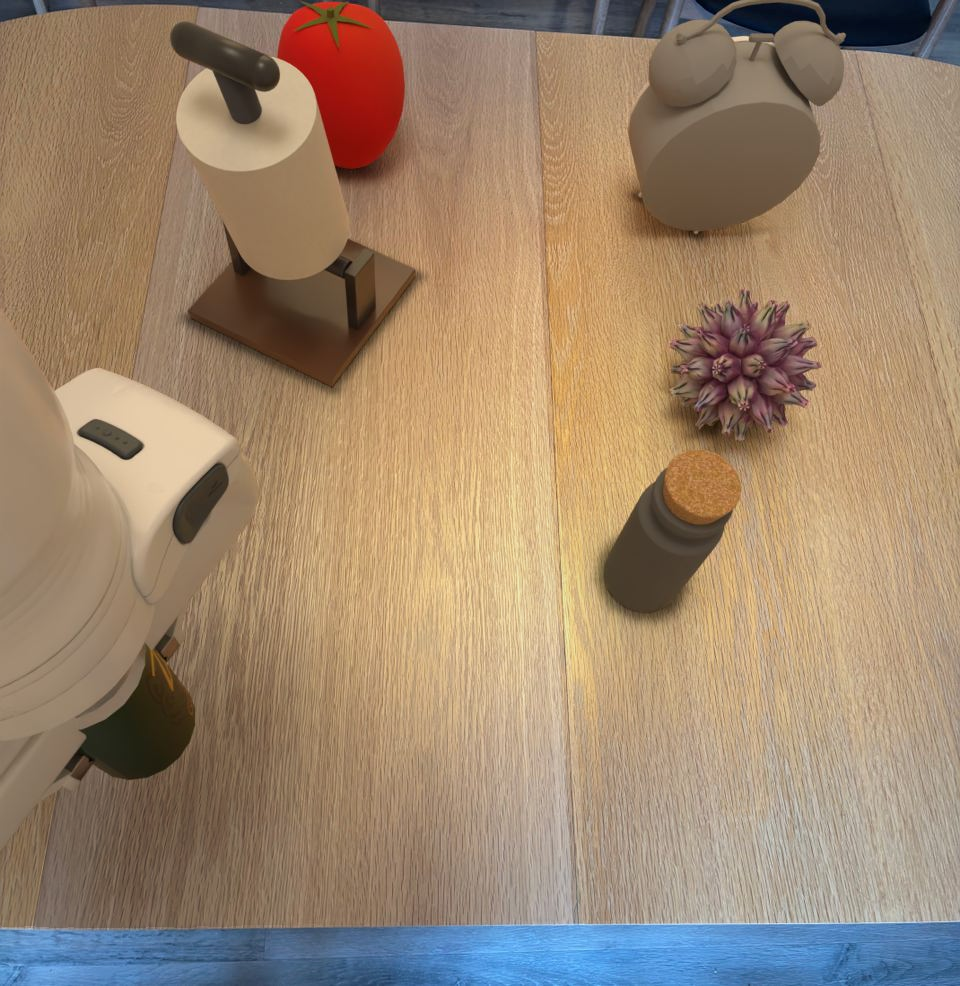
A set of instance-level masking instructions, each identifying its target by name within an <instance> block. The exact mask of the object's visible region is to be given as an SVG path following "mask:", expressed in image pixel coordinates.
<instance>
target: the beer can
mask: <svg viewBox="0 0 960 986" xmlns="http://www.w3.org/2000/svg"><path fill="white" fill-rule="evenodd" d="M78 717H79V721H78V730H79V731H80V732H82V733H83V734H85V735H86V739H85V741H84V742H83V743H82V745H81V746H80V747H79V749H78V750H77V751H76V753H78V754H83V755H85V756H87V757H88V758H89V759H91V760H93V761H94V763H93V765H92V766H94V767H95V768H97V769H98V770H100V771H102V772H103V773H105V774H107V775H109V776H110V777H112V778H116V779H121V780H126V781H127V780H128V781H133V780H140V779H148V778H150V777H153V776H155V775H157V774H160V773H161V772H163V771H165V770H167V769H168V768H169V767H170V766H171V765H173V764H174V763H175V762H176V761H177V760H179V759H180V758H181V757H182V755H183V753H184V752H185V750H186V749H187V748H188V746H189V744H190V743H191V741H192V737H193V734H194V730H195V728H196V706H195V704H194V701H193V698H192V696H191V693H190V692H189V690H188V689H187V688H186V686H185V685H184V684H183V682H182V681H181V680H180V679H179V677H178V676H177V674H176V673H175V672H174V670H172V668H171V667H170V665H169V664H168V662H167V663H166V661H165V660H164V659H163V657H162V656H161V655H160V653H159V652H158V651H157V649H156V648H154V649H153V650H150V649H149V647H148V646H147V645H146V643H145V642H144V644H143V646H142V649H141V651H140V652H139V654H138V656H137V657H136V659H135V661H134V662H133V664H132V665H131V666H130V668H129V669H128V671H127V672H126V673H125V675H124V676H123V677H122V678H121V679H120V680H119V682H118V683H117V684H116V685H115V686H114V687H113V688H112V689H111V690H110V691H109V692H108V693H107V694H106V695H105V696H104V697H102V698H101V699H100V700H99V701H97V702H96V703H95V704H94V705H92V706H91V707H90V708H88V709H87V710H85V711H84V712H82V713H81V714H79V715H77V716H76V717H75V718H78Z"/></svg>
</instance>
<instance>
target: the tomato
mask: <svg viewBox="0 0 960 986" xmlns="http://www.w3.org/2000/svg"><path fill="white" fill-rule="evenodd" d="M298 1H299V2H300V3H301V4H303V5H305V6H302V7H300V8H298V9H297V10H295V11H293V13H292V14H291V15H290V17H288V19H287V21H286V22H285V23H284V25H283V27H282V30H281V33H280V36H279V42H278V45H277V55H276V58H278V59H280V60H283V61H285V62H287V63H289V64H291V65H292V66H294V67H295V68H297V69H298V70H299V71H300V72H301V73H302V74H303V75H304V76H305V77H306V78H307V80H308V81H309V83H310V84H311V86H312V88H313V91H314V93H315V97H316V100H317V104H318V108H319V111H320V115H321V118H322V122H323V126H324V129H325V133H326V137H327V140H328V144H329V148H330V151H331V155H332V158H333V162H334V166H335V167H339V168H343V169H347V170H350V169H351V170H352V169H354V170H355V169H359V168H363V167H366V166H369V165H370V164H372V163H374V162H375V161H376V160H377V159H378V158H379V157H380V156H382V154H383V153H384V152H385V151H386V150H387V148H388V146H389V145H390V143H391V142H392V141H393V139H394V137H395V135H396V133H397V130H398V127H399V124H400V122H401V118H402V115H403V112H404V110H403V109H404V103H405V96H406V95H405V93H406V82H405V71H404V61H403V58H402V54H401V51H400V49H399V44H398V42H397V40H396V37H395V36H394V34H393V32H392V30H391V29H390V27H389V25H388V24H387V22H386V21H385V20H384V19H383V17H381V16H380V15H379V14H378V13H376V12H375V11H374V10H372V9H371V8H369V7H366V6H364V5H360V4H357V3H350V1H349V0H347V1H344V2H343V1H322V2H316V3H309V2H305V1H302V0H298Z"/></svg>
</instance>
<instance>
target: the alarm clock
mask: <svg viewBox="0 0 960 986" xmlns="http://www.w3.org/2000/svg"><path fill="white" fill-rule="evenodd" d="M771 3H782V4H791V5H798V6H802V7H807V8H809V9H812V10H814V11H815V12H816V14H817V16H818V18H819V23H820V24H819V23H816V22H812V21H810V20H809V21H808V20H798V21H797V20H796V21H793V22H790V23H788V24H786V25H784V26H783V27H782V28H780V29H779V30H778V31H777V32H776V33H775V34H773V33H750V34H749V35H748V36H747V35H742V36H731V35H730V33H729V32H728V31H727V29H726V28H725V27H724V26H723V25H721V24H720V23H718V21H719V20H720V19H722V18H724V16H726V15H728V14H729V13H731V12H732V11H734V10H737V9H740V8H743V7H746V6H747V7H748V6H752V5H761V4H762V5H763V4H771ZM846 36H847V34H846V33H845V32H841V33H840V32H838V33H837V34H835V33H833V32H832V31H831V30H830V29H829V28H828V26H827V23H826V14H825V12H824V10H823V8H822V7H821V5H820V3H818V2H815V1H813V0H738V1H737V0H736V1H734V2H732V3H730V4H728V5H727V6H725V7H724V8H722V9H721V10H719V11H718V12H717V13H716V14H715V15H714V16H713V17H712V18H711V19H692V20H689V21H686V22H682V23H680V24H678V25H677V26H675V27H673V28H672V29H671V30H669V31H668V32H666V33H665V34H664V35H663V36H662V38H661V39H660V40H659V41H658V43H656V45H655V47H654V49H653V51H652V54H651V56H650V57H649V61H648V81H647V82H646V83H645V84H644V86H643V87H642V88H641V89H640V90H639V91H638V94H637V96H636V98H635V100H634V102H633V104H632V106H631V108H630V110H629V115H628V122H627V127H626V130H627V137H628V142H629V147H630V150H631V151H630V152H631V155H632V159H633V163H634V168H635V171H636V176H637V177H636V178H637V181H638V185H639V189H640V192H638V197H639V198H640V199H641V198H642V202H643V204H644V206H645V208H646V209H647V210H648V212H649V213H650V215H651V216H652V217H653V218H654V219H656V220H658V222H660V223H662V224H663V225H665V226H668V227H671V228H674V229H678V230H681V231H692V232H693V234H695V235H697V234H699V232H704V231H705V232H706V231H714V230H715V231H716V230H722V229H725V228H730V227H734V226H736V225H740V224H744V223H745V222H748V221H750V220H753V219H755V218H757V217H759V216H762V215H764V214H765V213H767V212H769V211H770V210H772V209H773V208H776V207H777V206H778V205H780V204H782V203H783V202H784V201H785V200H787V199H788V198H789V197H790V196H791V195H792V194H793V193H794V192H795V191H797V190H798V189H799V188H800V187H801V186H802V185H803V183H805V181H806V179H807V178H808V177H809V175H810V174H811V173H812V171H813V169H814V167H815V165H816V162H817V160H818V158H819V155H820V151H821V139H822V135H821V131H820V130H819V126H818V123H817V120H816V118H815V114H814V111H813V108H812V106H811V104H813V105H814V106H815V107H822V106H824V105H825V104H827V103H829V102H830V101H831V100H832V99H833V98H834V97H835V96H836V94H837V93H839V91H840V89H841V87H842V83H843V80H844V74H845V61H844V56H843V52H842V49H841V46H840V44H842V43H843V42H844V41H845V38H846Z"/></svg>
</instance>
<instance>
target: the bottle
mask: <svg viewBox="0 0 960 986" xmlns="http://www.w3.org/2000/svg"><path fill="white" fill-rule="evenodd" d="M741 496H742V483H741V479H740V477H739V473H738V472H737V470H736V469H735V468H734V466H733V465H732V464H731V463H730V462H729V461H728V460H727V459H725V458H724V457H722V456H721V455H719V454H718V453H715V452H712V451H710V450H706V449H705V450H704V449H697V448H696V449H687V450H685V451H683V452H680V453H678V454H676V455H675V456H674V457H673V458H672V459H671V460H669V462H668V464H667V465H666V467H664V469H663V470H661V472H660V473H659V474H658V476H657V477H656V479H655V481H654V482H652V483H651V484H649V485H648V486H647V487H646V488H645V489H644V490H643V492H642V493H641V495H640V497H639V498H638V500H637V502H636V503H635V505H634V507H633V509H632V510H631V512H630V514H629V516H628V517H627V520H626V522H624V523H625V524H624V525H623V527H622V528H621V531H620V532H619V534H618V536H617V538H616V540H615V542H614V543H613V545H612V547H611V549H610V551H609V553H608V555H607V557H606V560H605V562H604V566H603V578H604V583H605V586H606V589H607V590H608V592H609V593H610V595H611V596H612V598H614V600H615V601H616V602H617V603H619V604H620V605H621V606H623V607H625V608H627V609H629V610H631V611H634V612H638V613H653V612H657V611H659V610H661V609H664V608H666V607H667V606H668V605H670V603H672V601H673V600H674V599H675V598H676V597H677V596H678V595H679V593H680V592H681V591H682V590H683V589H684V587H685V586H686V585H687V584H688V582H689V581H690V580H691V578H692V577H693V576H694V575H695V574H696V572H697V571H698V570H699V569H700V567H702V565H703V564H704V562H705V561H706V560H707V558H708V557H709V556H710V555H711V553H712V552H713V551H714V549H715V548H716V547H717V546H718V544H719V542H720V541H721V539H722V537H723V536H724V532H725V527H726V525H727V523H728V522H729V521H730V519H731V517H732V516H733V512H734V509H735V508H736V507H737V506H738V504H739V501H740V500H741Z"/></svg>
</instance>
